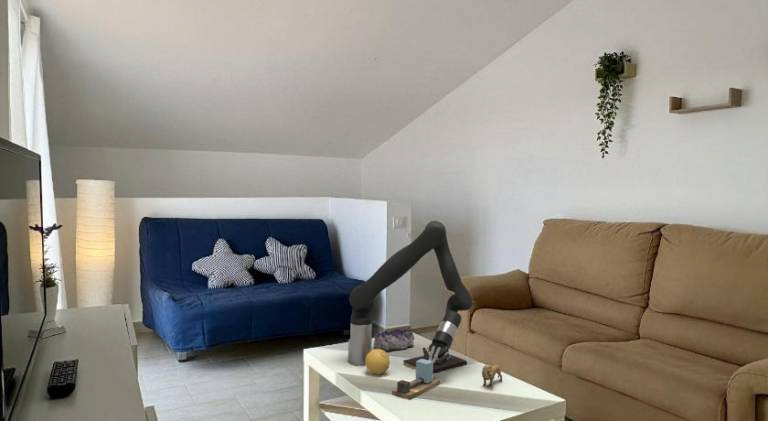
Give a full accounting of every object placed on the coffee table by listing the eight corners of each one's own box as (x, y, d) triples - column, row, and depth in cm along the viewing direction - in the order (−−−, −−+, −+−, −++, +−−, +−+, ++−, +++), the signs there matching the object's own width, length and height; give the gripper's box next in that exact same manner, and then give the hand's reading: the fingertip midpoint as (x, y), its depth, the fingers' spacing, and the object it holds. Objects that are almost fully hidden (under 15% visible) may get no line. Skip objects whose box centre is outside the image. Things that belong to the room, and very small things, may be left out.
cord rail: (392, 394, 203) (392, 380, 203) (423, 379, 220) (424, 366, 220) (409, 399, 199) (410, 385, 198) (440, 383, 215) (441, 370, 215)
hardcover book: (402, 365, 237) (402, 360, 237) (440, 356, 252) (440, 351, 251) (428, 376, 225) (428, 371, 225) (466, 365, 239) (467, 360, 239)
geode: (405, 341, 272) (407, 322, 270) (418, 351, 262) (420, 331, 261) (369, 345, 261) (371, 325, 260) (381, 355, 252) (384, 334, 250)
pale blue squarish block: (415, 380, 213) (416, 361, 213) (421, 377, 216) (421, 358, 216) (427, 383, 210) (427, 364, 209) (432, 380, 213) (433, 361, 213)
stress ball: (382, 379, 219) (383, 354, 218) (360, 374, 223) (361, 350, 223) (393, 371, 228) (394, 347, 227) (372, 367, 232) (373, 344, 232)
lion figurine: (492, 391, 209) (492, 367, 208) (478, 388, 211) (479, 365, 211) (504, 379, 221) (505, 357, 221) (491, 377, 224) (492, 355, 224)
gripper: (428, 327, 226) (410, 363, 217) (456, 333, 218) (439, 371, 209) (434, 337, 230) (417, 373, 221) (462, 343, 222) (445, 381, 213)
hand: (427, 372), depth 215 cm, fingers closed
